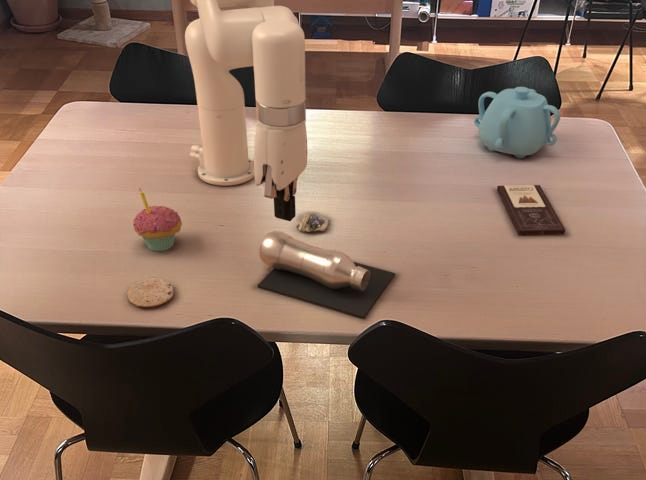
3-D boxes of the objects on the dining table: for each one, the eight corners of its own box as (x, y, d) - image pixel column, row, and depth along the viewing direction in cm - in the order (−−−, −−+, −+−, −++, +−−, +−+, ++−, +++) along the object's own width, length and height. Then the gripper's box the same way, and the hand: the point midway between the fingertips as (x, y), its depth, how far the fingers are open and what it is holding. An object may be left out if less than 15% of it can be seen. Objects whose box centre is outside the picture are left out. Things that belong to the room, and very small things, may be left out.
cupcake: (144, 261, 130) (133, 201, 122) (131, 238, 135) (120, 180, 127) (190, 249, 133) (182, 190, 125) (175, 228, 138) (167, 170, 130)
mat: (257, 287, 124) (257, 285, 124) (295, 247, 134) (295, 245, 133) (363, 319, 118) (363, 316, 118) (395, 275, 127) (395, 272, 127)
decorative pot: (486, 164, 161) (496, 104, 152) (468, 133, 173) (476, 76, 164) (556, 161, 162) (570, 102, 153) (534, 131, 174) (546, 74, 165)
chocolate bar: (519, 230, 137) (497, 185, 151) (518, 235, 138) (497, 189, 151) (565, 229, 138) (539, 185, 151) (564, 234, 138) (538, 189, 152)
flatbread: (174, 306, 119) (173, 301, 119) (128, 311, 118) (126, 306, 118) (172, 278, 125) (171, 273, 125) (128, 283, 124) (127, 278, 124)
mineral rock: (298, 236, 137) (297, 227, 135) (291, 215, 143) (291, 206, 141) (332, 233, 138) (333, 224, 136) (325, 212, 144) (325, 204, 142)
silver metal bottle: (259, 271, 128) (358, 307, 121) (251, 245, 123) (354, 281, 116) (277, 246, 131) (375, 279, 124) (270, 220, 125) (372, 253, 118)
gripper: (283, 90, 115) (286, 193, 127) (234, 124, 105) (243, 233, 117) (324, 98, 113) (324, 202, 125) (279, 134, 103) (283, 244, 115)
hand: (285, 217), depth 121 cm, fingers closed
